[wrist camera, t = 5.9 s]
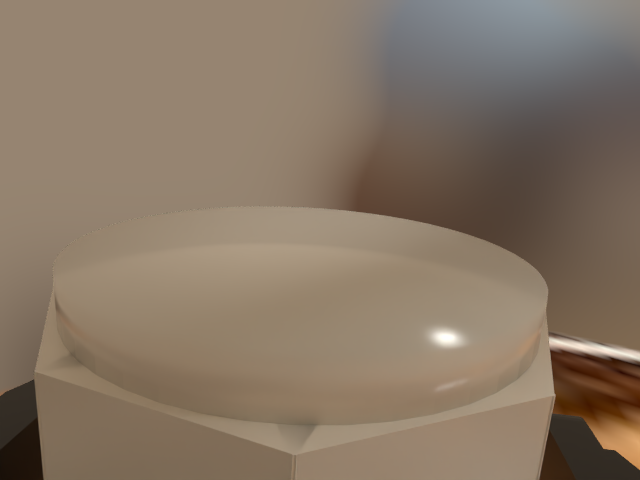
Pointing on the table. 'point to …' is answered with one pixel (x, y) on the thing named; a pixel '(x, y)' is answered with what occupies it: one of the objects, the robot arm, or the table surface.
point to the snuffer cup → (292, 351)
